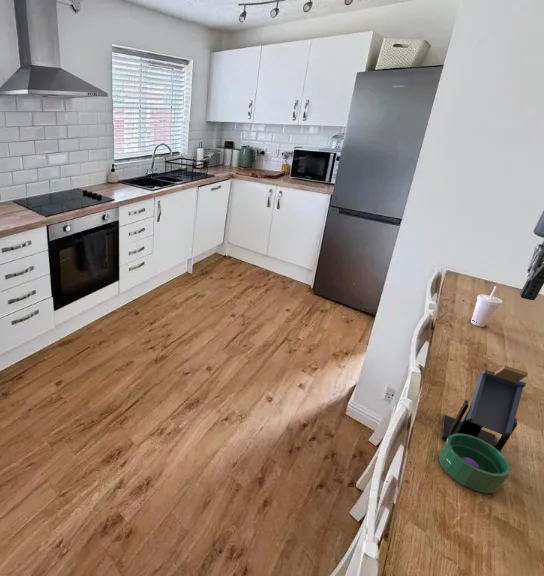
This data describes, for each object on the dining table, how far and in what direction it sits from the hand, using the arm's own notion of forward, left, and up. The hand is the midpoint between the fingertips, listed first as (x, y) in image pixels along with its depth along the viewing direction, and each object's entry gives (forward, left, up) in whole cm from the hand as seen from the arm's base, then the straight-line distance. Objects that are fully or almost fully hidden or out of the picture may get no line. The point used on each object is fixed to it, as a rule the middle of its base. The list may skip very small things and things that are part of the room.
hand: (526, 297), depth 74 cm
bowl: (+19, +13, -29) cm, 37 cm away
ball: (+20, +13, -27) cm, 36 cm away
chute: (+12, +8, -18) cm, 23 cm away
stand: (+10, +7, -29) cm, 32 cm away
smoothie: (-46, -28, -29) cm, 61 cm away
